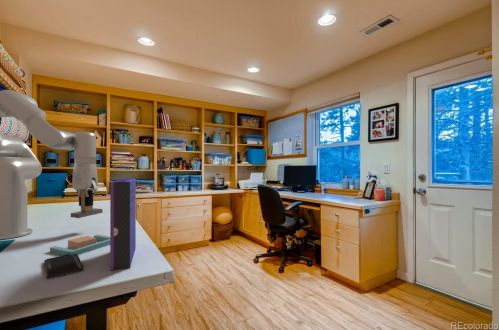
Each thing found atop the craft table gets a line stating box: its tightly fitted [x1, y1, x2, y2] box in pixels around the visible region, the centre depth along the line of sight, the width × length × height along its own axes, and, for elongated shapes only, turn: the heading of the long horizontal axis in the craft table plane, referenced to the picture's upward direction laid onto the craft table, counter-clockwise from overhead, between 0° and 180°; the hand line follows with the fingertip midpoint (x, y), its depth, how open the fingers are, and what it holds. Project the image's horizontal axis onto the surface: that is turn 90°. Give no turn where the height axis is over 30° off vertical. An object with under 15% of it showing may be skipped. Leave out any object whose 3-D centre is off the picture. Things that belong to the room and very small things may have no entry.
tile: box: [67, 235, 97, 250], centre depth 84 cm, size 6×6×3 cm
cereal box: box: [109, 177, 137, 272], centre depth 74 cm, size 17×5×24 cm, turn 21°
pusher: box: [70, 190, 104, 219], centre depth 101 cm, size 10×5×11 cm, turn 157°
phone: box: [43, 254, 84, 280], centre depth 68 cm, size 8×1×15 cm
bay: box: [49, 234, 110, 256], centre depth 84 cm, size 11×16×2 cm
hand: (86, 205), depth 101 cm, fingers closed on pusher, 3 cm apart
